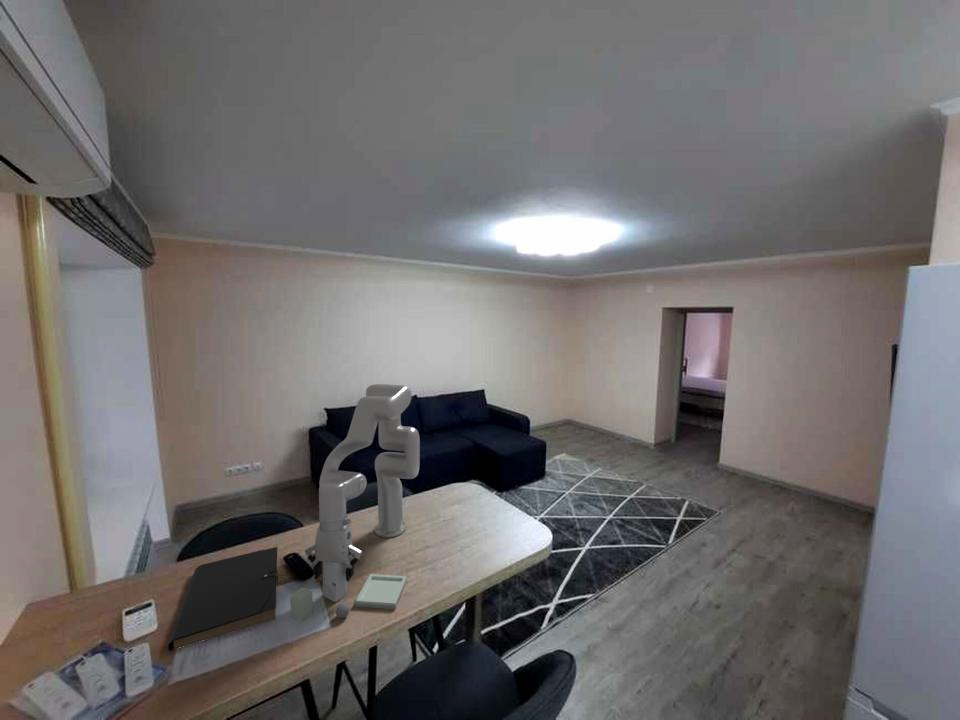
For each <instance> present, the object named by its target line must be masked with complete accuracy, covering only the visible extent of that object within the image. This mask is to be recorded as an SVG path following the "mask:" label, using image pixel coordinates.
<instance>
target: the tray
mask: <svg viewBox="0 0 960 720" xmlns="http://www.w3.org/2000/svg"><path fill="white" fill-rule="evenodd" d="M407 583H408V576H407V575H396V574H395V575H394V574H377V573H370V574H369V576H368V578H367V579H366V581H365V583H364V585H363V586H362V588H361V590H360V592H359V594H358V595H357V597H356V599H355V601H354V602H355V603H354V604H355V607H356V608H357V607H358V608H373V609H374V608H376V609H387V610H390V609H391V610H396V609H397V607H398V605H399V602H400V599H401V597H402V595H403V592H404V590H405V588H406V585H407Z"/></svg>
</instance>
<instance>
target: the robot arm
mask: <svg viewBox="0 0 960 720" xmlns="http://www.w3.org/2000/svg"><path fill="white" fill-rule="evenodd" d="M411 400H412V390H411V388H410V387H408V386H407V385H403V384H402V385H401V384H387V383H386V384H385V383H381V384H380V383H376V384H371V385H369V386H368V387H367V388H366V390H365V396H363V397H361V398H359V399H358V400H357V404H356V406H355V409H354V412H353V415H352V419H351V422H350V426H349V429H348V432H347V436H346V437H345V438H344V439H343V441H341V442H339V443H338V445H336V447H334V448H333V450H332V451H331V452H330V453H329V454H328V456H327V457H326V459H325V462H324V464H323V467H322V471H321V474H320V478H319V488H318V500H319V501H318V504H319V507H318V509H319V510H318V511H319V512H318V514H319V515H318V516H319V518H318V519H319V523H318V524H319V525H318V528H317V530H316V535H315V541H314V544H312V545H310V546H308V547H307V548H305V550H304V553H305V554H306V556H307V560H309V562H310V563H311V565H312V567H313V575H314V580H316V579H318V577H319V576H320V575H321V574H322V561H331V562H344V563H345V564H346V566H347V568H346V581H347V582H349V581H350V580H351V579H352V577H353V576H354V572H355V571H354V570H355V569H354V567H355V564H356V563H358V561H359V559H360V558H361V555H362V554H363V551H362V550H360V549H359V548H357V547H355V546H354V545H353V544H354V543H353V534H352V530H351V527H350V525H351V522H352V521H351V519H349V518H348V515H347V503H348V501H350V500H352V499H356V498H357V497H359V496H360V495H362V494H363V493H364V491H365V490H366V487H367V483H368V482H367V478H366V476H365V475H364V473H361V472H355V471H347V470H339V468H340V465H341V463H342V462H343V461H344V460H345V458H346V457H348V456H349V455H351V454H353V453H355V452H357V451H359V450H362V449H364V448H365V449H366V448H367V447H369V446H371V445H372V444H373V441H374V438H375V434H376V430H377V427H378V444H379V447H380V448H381V449H383V450H386V452H381V453H379V454H378V455H377V456H376V458H375V460H374V470H375V474H376V479H377V482H376V483H377V514H378V522H377V523H376V524H375V525H374V529H373V530H374V534H376V536H379V537H382V538H393V537H397V536H400V535H402V534H403V533H405V531H406V530H407V528H408V527H407V522H405V520H403V517H404V516H403V513H404V512H403V484H402V481H401V480H400V479H405V480H413V479H415V478H416V477H417V476H418V474H419V471H420V463H421V462H420V461H421V460H420V457H421V455H420V452H421V450H420V447H421V446H420V445H421V444H420V442H421V440H420V434H419V430H418V429H417V428H415V427H414V426H404V425H402V421H401V418H402V417H401V414H402V413H403V412H405V411H406V409H407V408H408V407H409V406H410V404H411ZM387 450H388V451H387ZM393 451H396V452H393ZM397 451H399V452H397ZM313 551H314V552H313ZM353 555H355V556H354V557H353Z"/></svg>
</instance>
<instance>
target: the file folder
mask: <svg viewBox="0 0 960 720" xmlns="http://www.w3.org/2000/svg"><path fill="white" fill-rule="evenodd" d="M278 581H279V575H278V546H274V547H270V548H267V549H261V550H255V551H252V552H250V553H249V552H248V553H244V554H240V555H236V556H232V557H229V558H224V559H220V560H217V561H211V562H208V563H204V564H201V565H199V566H197V567H196V568H195V569H194V571H193V574H192V577H191V580H190V584H189V585H188V588H187V592H186V595H185V597H184V600H183V602H182V605H181V609H180V610H179V614H178V616H177V619H176V622H175V625H174V627H173V631H172V633H171V636H170V638H169V641H168V644H167V650H168V651H170V652H172V650H173V649H174V650H178V649H177V648H179V647H182V648H184V647H183V646H185V647H187V646H186V645H188V646H191V644H192V645H194V644H193V643H195V644H197V643H196V642H198V643H200V642H199V641H201V642H203V641H202V640H205V641H208V640H211V639H215V638H217V637H221V636H225V635H228V634H231V633H235V632H238V631H242V630H244V629H247V628H251V627H254V626H256V625H257V626H258V625H259V624H264V623H267V622H269V621H273V620H275V619H276V609H277V587H279V584H278ZM250 626H251V627H250ZM234 631H235V632H234ZM214 637H215V638H214ZM207 639H208V640H207ZM189 644H190V645H189ZM179 649H180V648H179Z"/></svg>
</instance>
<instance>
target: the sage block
mask: <svg viewBox="0 0 960 720" xmlns="http://www.w3.org/2000/svg"><path fill="white" fill-rule="evenodd" d="M289 597H290V617H293V619H296V620H298V621H300V622H301V621H303V620H304V619H305V618H307V616H309V615H310V614H312V613H313V612H314V601H313V600H314V599H313V591H312V590H310V589H307V588H305V587H301V588H300V589H298V590H297V591H296V592H294V593H293V594H291V595H290V596H289Z"/></svg>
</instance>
